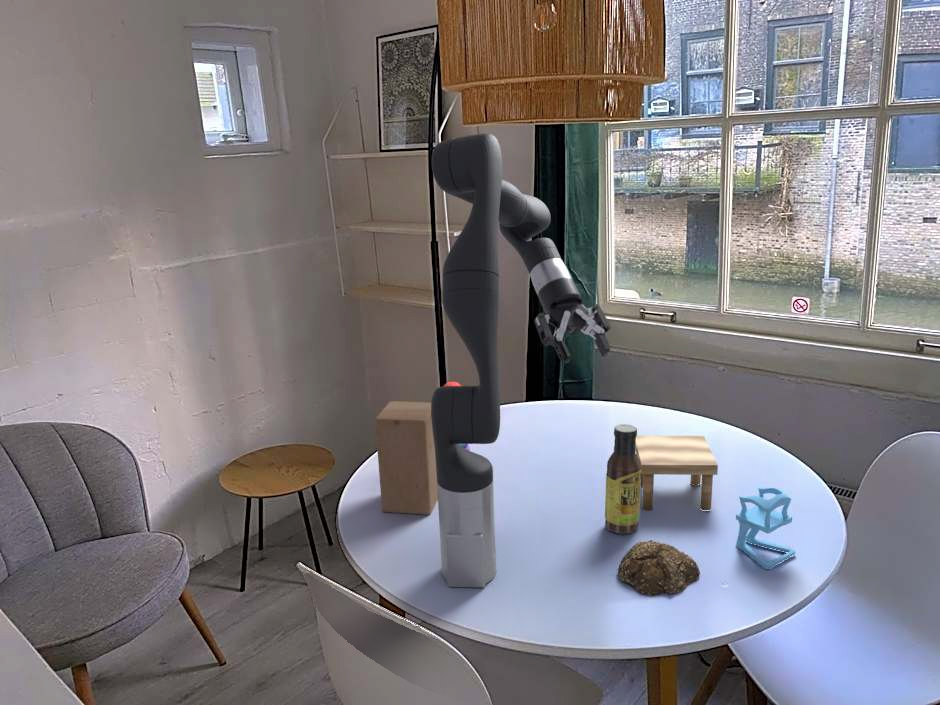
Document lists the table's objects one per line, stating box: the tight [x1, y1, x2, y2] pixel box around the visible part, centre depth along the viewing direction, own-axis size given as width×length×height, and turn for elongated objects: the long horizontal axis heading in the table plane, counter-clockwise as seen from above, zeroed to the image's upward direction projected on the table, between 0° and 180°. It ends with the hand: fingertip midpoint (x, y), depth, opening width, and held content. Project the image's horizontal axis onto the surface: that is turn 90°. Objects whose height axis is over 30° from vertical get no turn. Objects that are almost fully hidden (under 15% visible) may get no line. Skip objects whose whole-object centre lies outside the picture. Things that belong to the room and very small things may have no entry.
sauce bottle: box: [604, 423, 642, 535], centre depth 142 cm, size 6×6×20 cm
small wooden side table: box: [635, 435, 719, 512], centre depth 155 cm, size 14×14×10 cm
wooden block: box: [374, 400, 438, 516], centre depth 155 cm, size 10×10×20 cm
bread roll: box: [617, 539, 701, 596], centre depth 129 cm, size 13×12×5 cm
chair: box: [735, 486, 796, 570], centre depth 133 cm, size 8×8×12 cm
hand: (587, 357), depth 146 cm, fingers open, 8 cm apart
